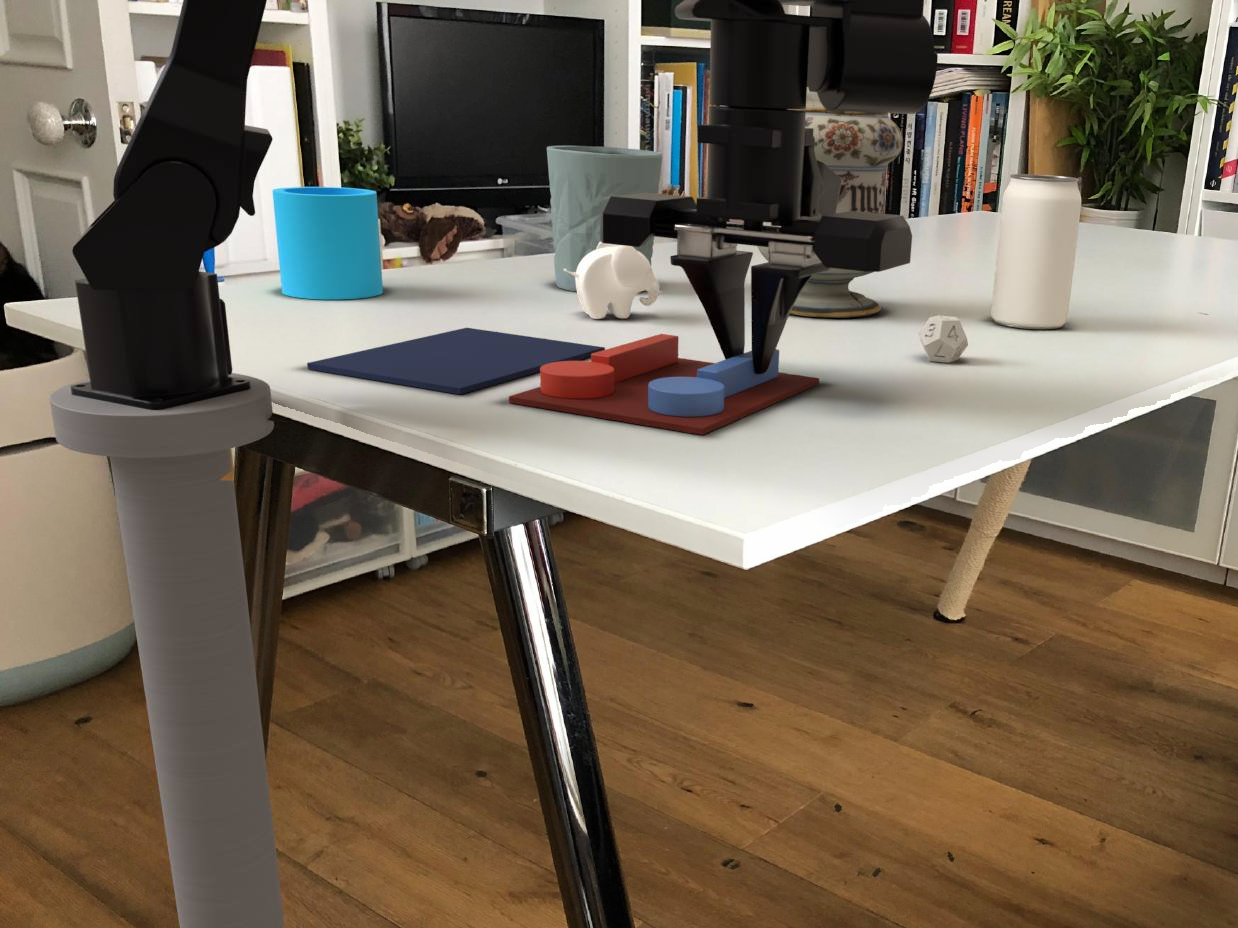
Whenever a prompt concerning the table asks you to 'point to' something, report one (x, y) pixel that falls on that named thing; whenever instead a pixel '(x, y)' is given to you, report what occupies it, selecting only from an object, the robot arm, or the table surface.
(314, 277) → the mug
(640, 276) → the elephant figurine
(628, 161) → the green plant pot
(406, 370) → the blue mat
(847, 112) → the apothecary jar
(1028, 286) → the can
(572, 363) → the red spoon
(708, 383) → the blue spoon
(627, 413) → the red mat
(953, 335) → the game die
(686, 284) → the table surface
